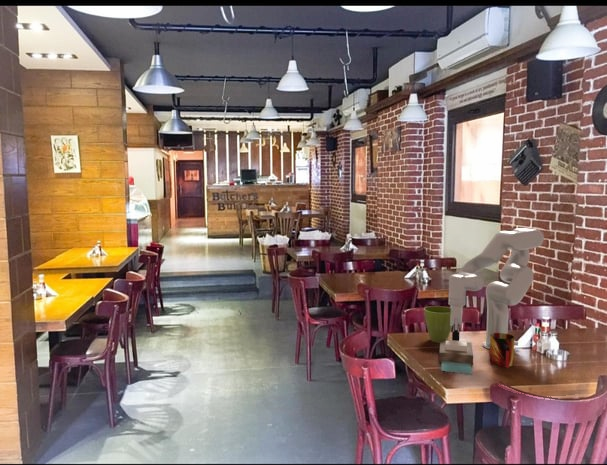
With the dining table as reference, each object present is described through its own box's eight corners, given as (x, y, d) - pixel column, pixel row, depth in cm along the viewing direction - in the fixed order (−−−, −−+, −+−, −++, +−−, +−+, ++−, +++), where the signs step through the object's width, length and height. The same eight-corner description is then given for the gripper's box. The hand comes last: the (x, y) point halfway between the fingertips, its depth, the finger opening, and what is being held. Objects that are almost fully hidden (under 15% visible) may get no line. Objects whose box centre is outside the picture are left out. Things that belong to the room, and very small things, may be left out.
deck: (471, 350, 233) (471, 342, 233) (473, 364, 214) (473, 355, 214) (440, 348, 237) (440, 339, 237) (439, 361, 218) (439, 352, 217)
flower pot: (439, 347, 238) (440, 314, 237) (416, 339, 251) (417, 308, 250) (460, 342, 247) (461, 310, 245) (437, 335, 259) (438, 304, 258)
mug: (506, 371, 207) (507, 342, 206) (484, 360, 220) (485, 333, 219) (525, 368, 210) (526, 340, 209) (502, 358, 223) (503, 332, 222)
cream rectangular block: (466, 347, 225) (466, 342, 225) (466, 351, 219) (467, 346, 219) (445, 345, 227) (445, 340, 227) (445, 349, 222) (445, 344, 221)
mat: (470, 364, 214) (470, 363, 214) (471, 374, 202) (471, 373, 202) (441, 362, 217) (441, 361, 217) (441, 371, 206) (441, 370, 205)
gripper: (448, 297, 238) (447, 335, 239) (448, 304, 224) (446, 344, 225) (465, 298, 236) (463, 336, 237) (465, 305, 222) (464, 345, 223)
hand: (455, 340), depth 231 cm, fingers closed
